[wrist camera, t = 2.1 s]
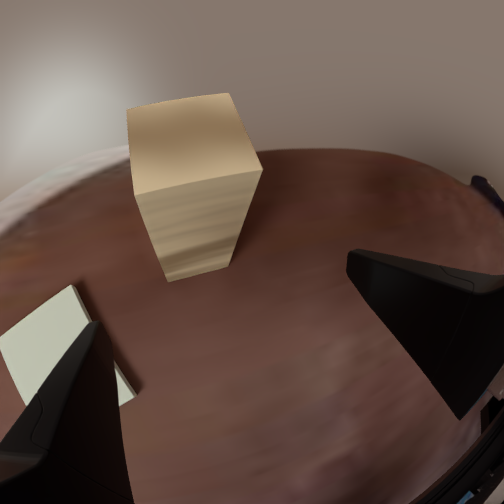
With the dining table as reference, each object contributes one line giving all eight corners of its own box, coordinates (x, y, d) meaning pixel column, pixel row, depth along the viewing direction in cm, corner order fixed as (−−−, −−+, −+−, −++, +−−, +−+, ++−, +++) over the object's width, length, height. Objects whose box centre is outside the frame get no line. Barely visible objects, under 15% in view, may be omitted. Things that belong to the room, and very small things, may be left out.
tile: (137, 395, 18) (134, 397, 17) (54, 441, 14) (49, 444, 13) (75, 287, 20) (70, 284, 19) (2, 340, 16) (-4, 339, 15)
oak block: (228, 266, 23) (262, 169, 11) (168, 282, 21) (134, 195, 9) (211, 212, 24) (228, 93, 12) (155, 226, 23) (126, 109, 11)
